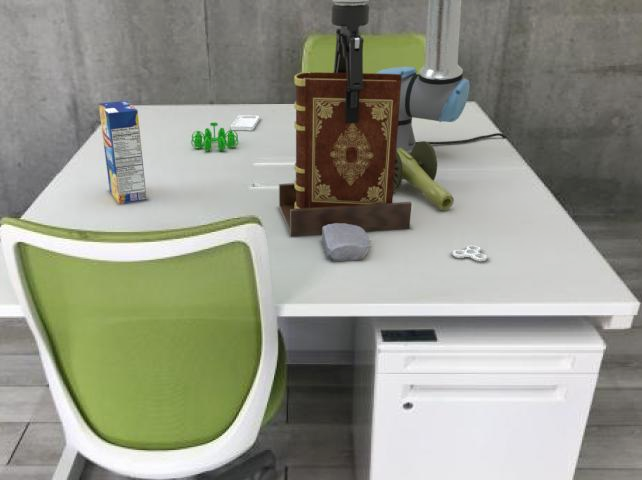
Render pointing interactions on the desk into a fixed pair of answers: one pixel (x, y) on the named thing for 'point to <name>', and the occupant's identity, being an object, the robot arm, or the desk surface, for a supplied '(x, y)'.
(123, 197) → the beverage box
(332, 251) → the stone block
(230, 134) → the chandelier
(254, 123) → the phone case
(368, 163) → the decorative book
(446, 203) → the cannon
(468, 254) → the fidget spinner
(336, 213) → the book rack
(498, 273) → the desk surface
